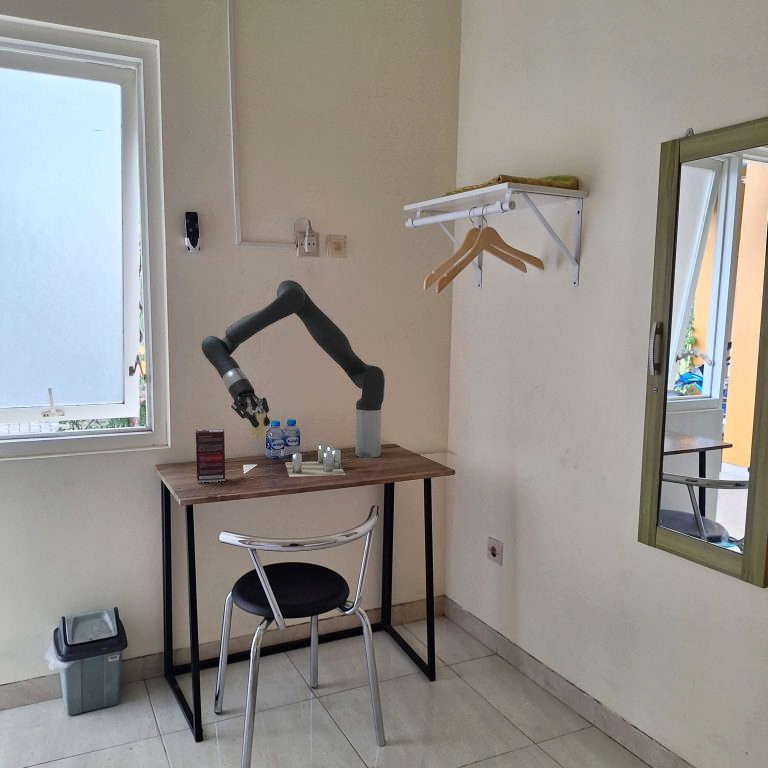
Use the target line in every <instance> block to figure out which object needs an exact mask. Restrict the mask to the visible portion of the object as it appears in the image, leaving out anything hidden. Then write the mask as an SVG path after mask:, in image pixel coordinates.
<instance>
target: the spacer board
mask: <svg viewBox="0 0 768 768" xmlns="http://www.w3.org/2000/svg"><path fill="white" fill-rule="evenodd" d="M284 464H285V468H286V470H287V475H288V477H290V478H293V477H294V478H295V477H296V478H297V477H325V476H326V477H327V476H346V475H347V474H346V472H345V471H344V468H343V467H342V466H341V468H340V469H333V471H332V472H323V464H321V463H318V461H302V473H300V474H294V473H293V461H290V462H289V461H287V462H284Z"/></svg>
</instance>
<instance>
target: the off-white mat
mask: <svg viewBox="0 0 768 768" xmlns="http://www.w3.org/2000/svg"><path fill="white" fill-rule="evenodd" d="M258 465H259V464H254V463H253V464H243V466H242V467H243V469H242V470H243V471H244V472H243V474H244V475H245V474H246V473H247V472H249V471H251V470H252V469H253V468H255V467H256V466H258Z"/></svg>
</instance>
